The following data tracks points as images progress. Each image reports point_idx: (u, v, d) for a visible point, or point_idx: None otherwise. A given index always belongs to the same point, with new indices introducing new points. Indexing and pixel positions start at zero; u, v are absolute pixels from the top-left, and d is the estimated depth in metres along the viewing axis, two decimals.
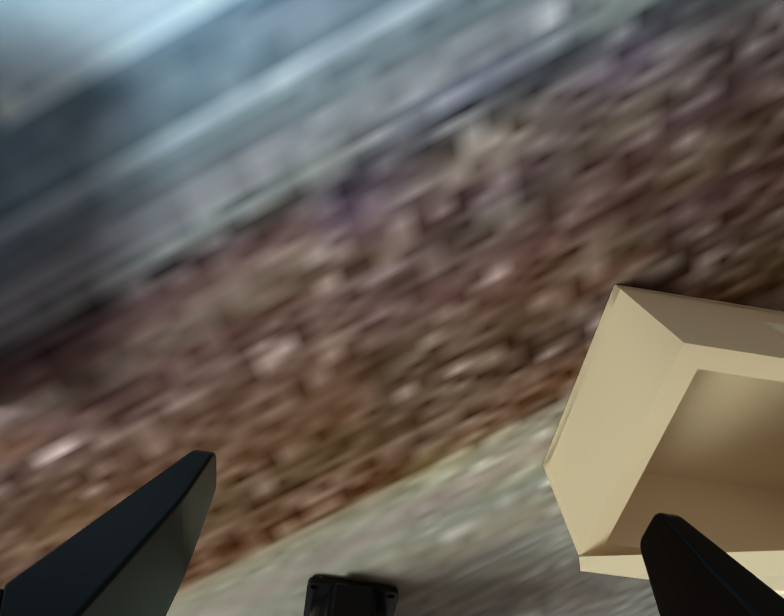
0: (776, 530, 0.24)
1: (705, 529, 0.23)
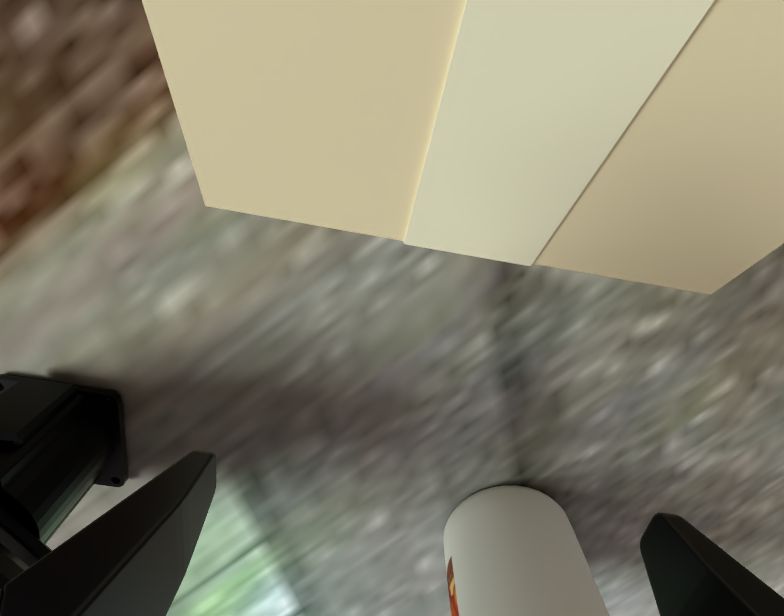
0: None
1: None
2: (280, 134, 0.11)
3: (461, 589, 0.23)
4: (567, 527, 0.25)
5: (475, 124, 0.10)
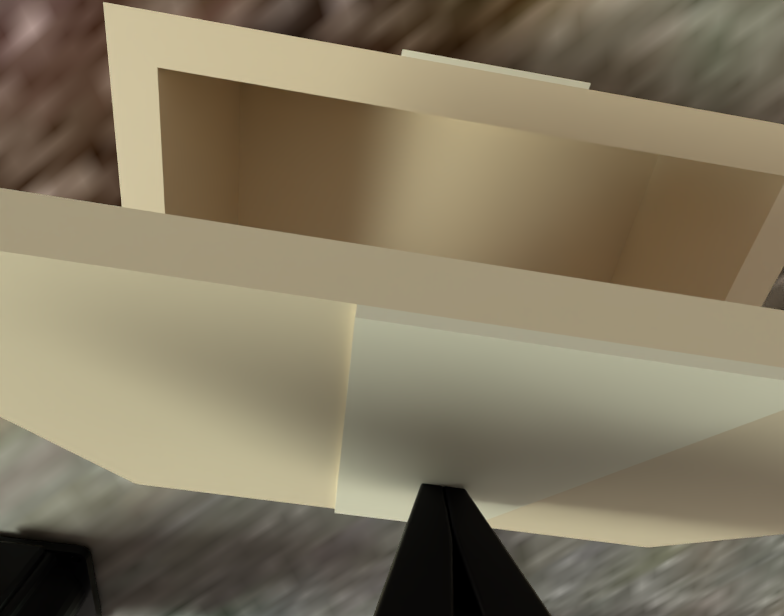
0: None
1: None
2: (191, 473, 0.11)
3: None
4: None
5: (376, 492, 0.10)
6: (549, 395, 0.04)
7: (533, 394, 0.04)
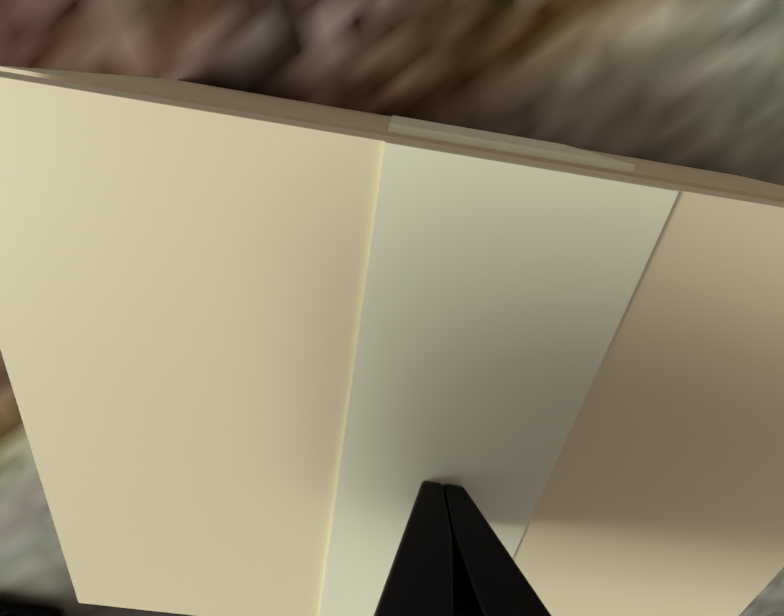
0: None
1: None
2: (167, 536, 0.10)
3: None
4: None
5: (373, 525, 0.09)
6: (511, 236, 0.06)
7: (500, 235, 0.06)
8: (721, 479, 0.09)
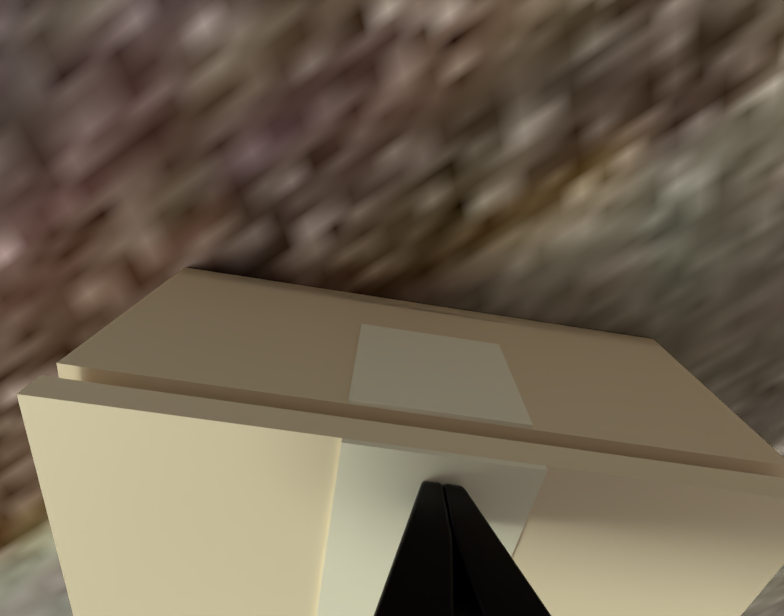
0: None
1: None
2: None
3: None
4: None
5: None
6: None
7: None
8: None
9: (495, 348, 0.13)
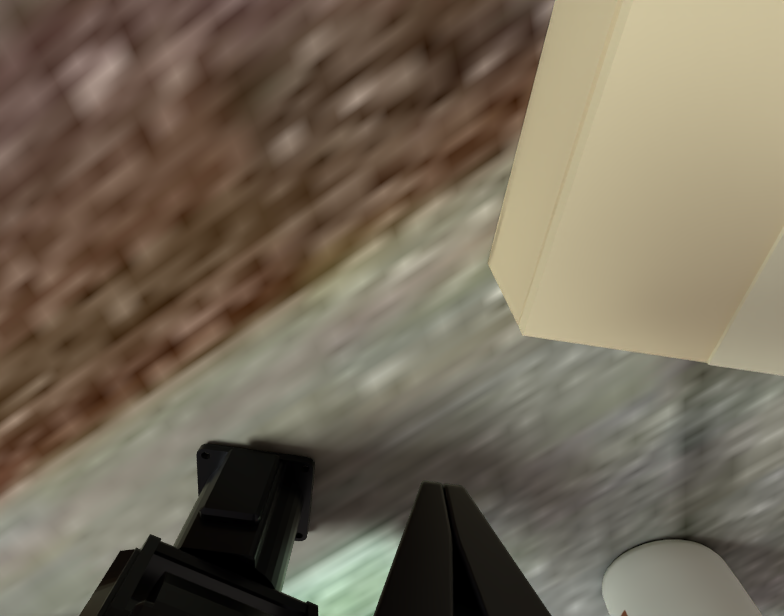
0: None
1: None
2: (637, 255, 0.13)
3: None
4: (739, 583, 0.25)
5: None
6: None
7: None
8: None
9: None
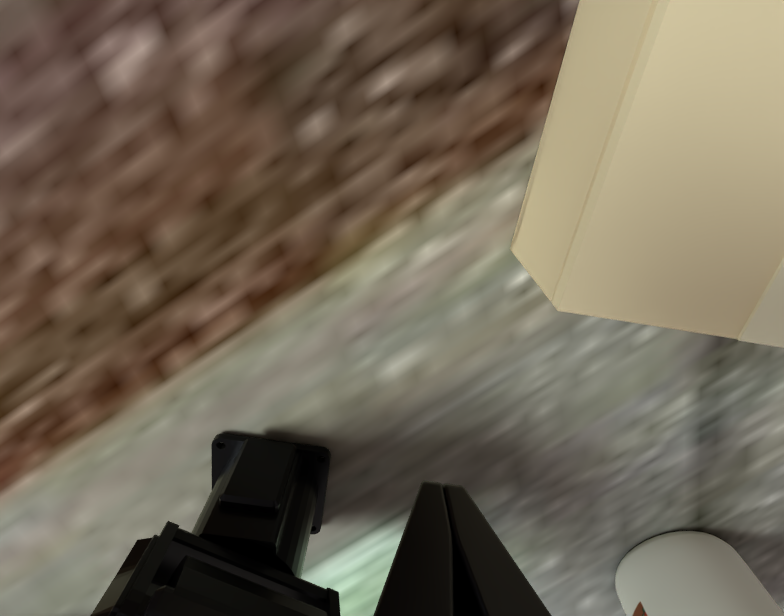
0: None
1: None
2: (673, 229, 0.13)
3: None
4: (753, 574, 0.26)
5: None
6: None
7: None
8: None
9: None
